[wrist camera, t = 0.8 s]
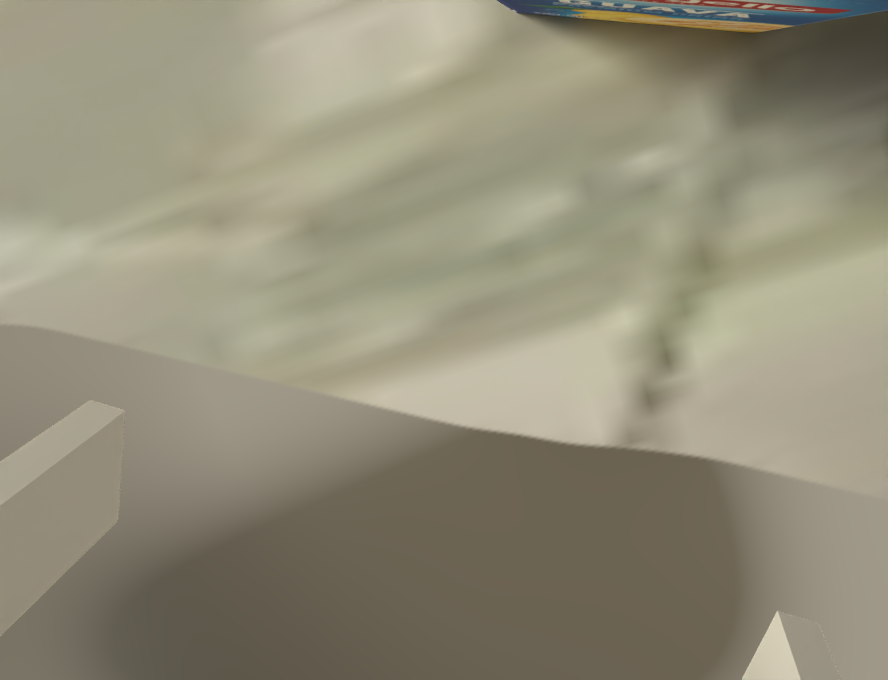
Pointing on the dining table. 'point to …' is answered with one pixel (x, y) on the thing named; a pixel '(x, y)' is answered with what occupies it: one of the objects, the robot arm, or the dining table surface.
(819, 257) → the dining table surface
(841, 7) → the beverage box
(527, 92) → the dining table surface
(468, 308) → the dining table surface
